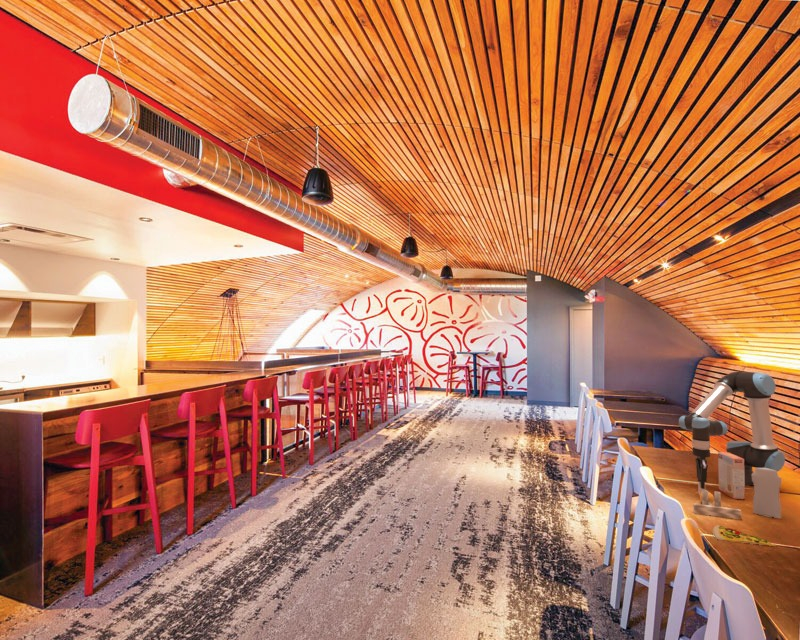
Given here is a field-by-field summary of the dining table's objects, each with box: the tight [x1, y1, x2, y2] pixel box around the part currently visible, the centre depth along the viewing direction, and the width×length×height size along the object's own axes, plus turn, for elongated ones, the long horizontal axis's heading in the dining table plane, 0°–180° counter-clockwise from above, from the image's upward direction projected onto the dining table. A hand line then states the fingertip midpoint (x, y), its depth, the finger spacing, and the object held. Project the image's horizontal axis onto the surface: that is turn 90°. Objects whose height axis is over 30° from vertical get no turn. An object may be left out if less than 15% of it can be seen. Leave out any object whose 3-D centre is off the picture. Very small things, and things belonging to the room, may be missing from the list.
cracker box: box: [717, 451, 746, 501], centre depth 228 cm, size 14×6×21 cm, turn 168°
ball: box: [699, 491, 715, 504], centre depth 214 cm, size 6×6×6 cm
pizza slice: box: [712, 524, 778, 547], centre depth 175 cm, size 16×21×3 cm
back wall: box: [693, 503, 743, 521], centre depth 199 cm, size 18×2×4 cm, turn 68°
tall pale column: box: [752, 467, 782, 520], centre depth 200 cm, size 11×4×22 cm, turn 54°
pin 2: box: [713, 490, 722, 507], centre depth 206 cm, size 2×2×8 cm
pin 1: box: [701, 489, 709, 505], centre depth 208 cm, size 2×2×8 cm
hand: (702, 494), depth 222 cm, fingers closed
